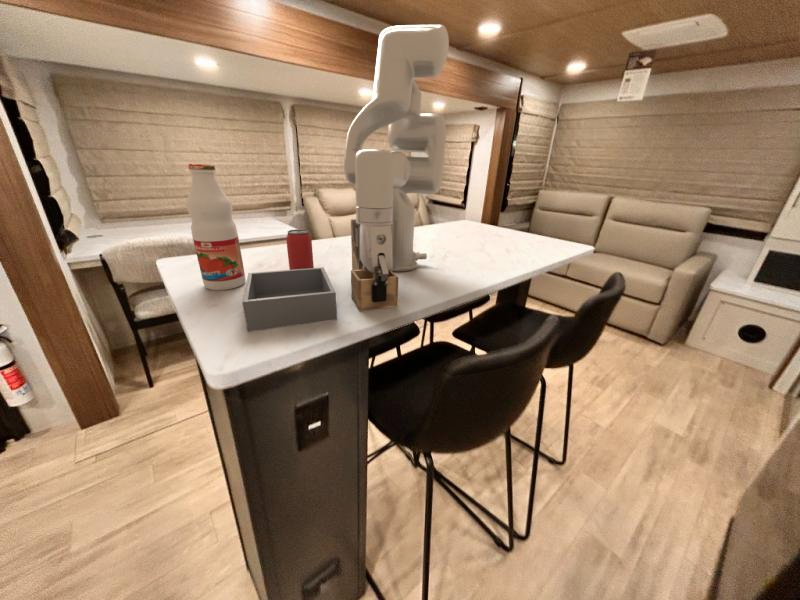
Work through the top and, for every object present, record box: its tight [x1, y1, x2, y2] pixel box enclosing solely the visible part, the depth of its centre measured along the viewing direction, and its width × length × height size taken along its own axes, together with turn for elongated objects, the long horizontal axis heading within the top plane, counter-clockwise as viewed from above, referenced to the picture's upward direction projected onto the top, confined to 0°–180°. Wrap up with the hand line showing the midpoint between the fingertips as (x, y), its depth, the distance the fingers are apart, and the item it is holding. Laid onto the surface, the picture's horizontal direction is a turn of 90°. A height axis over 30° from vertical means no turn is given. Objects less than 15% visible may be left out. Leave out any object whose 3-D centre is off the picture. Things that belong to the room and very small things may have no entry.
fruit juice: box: [185, 163, 246, 291], centre depth 73 cm, size 9×9×28 cm
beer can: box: [285, 228, 315, 270], centre depth 86 cm, size 7×7×12 cm
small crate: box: [350, 268, 399, 312], centre depth 70 cm, size 9×7×7 cm
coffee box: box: [350, 219, 363, 270], centre depth 81 cm, size 9×6×16 cm
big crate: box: [242, 267, 338, 332], centre depth 66 cm, size 17×17×6 cm
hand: (374, 294), depth 71 cm, fingers closed on small crate, 7 cm apart
